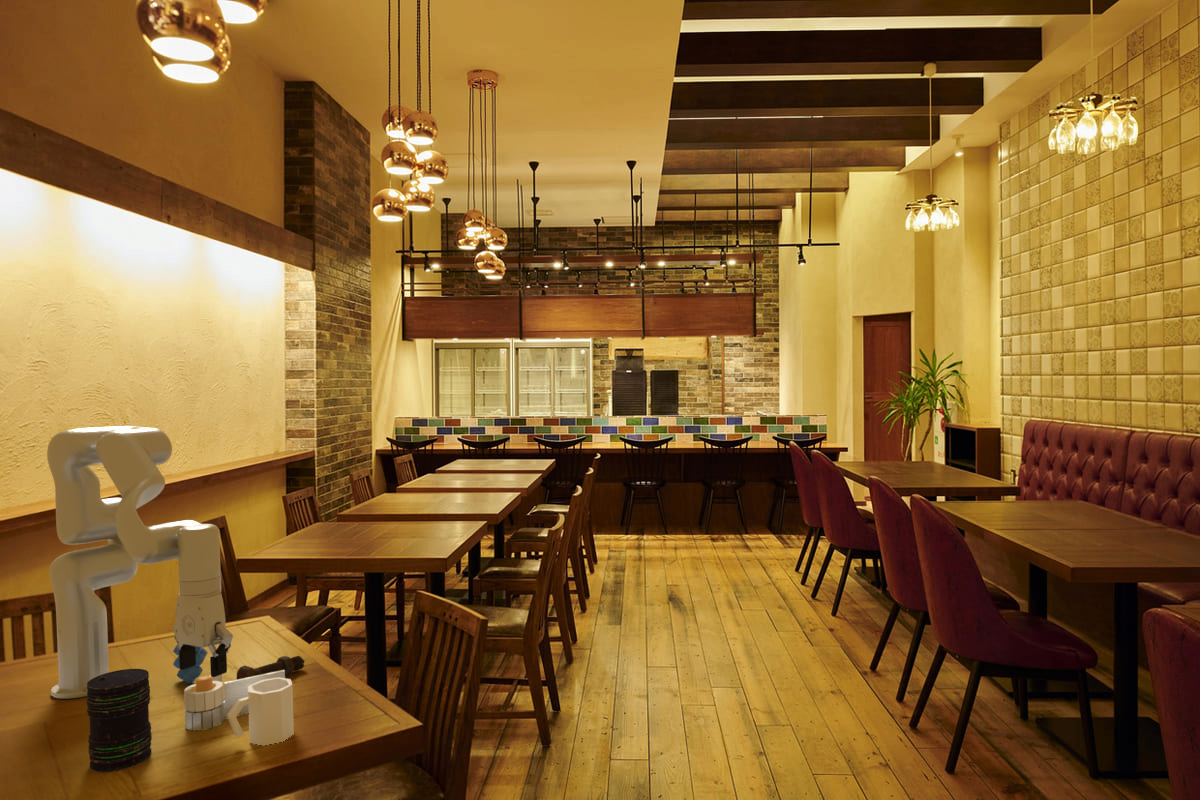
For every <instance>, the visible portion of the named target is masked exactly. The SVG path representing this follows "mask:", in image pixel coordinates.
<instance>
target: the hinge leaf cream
mask: <svg viewBox="0 0 1200 800" xmlns="http://www.w3.org/2000/svg"><path fill="white" fill-rule="evenodd" d="M209 676H211V674H210V675H209ZM183 701H184V702H183V704H184V706H183V707H184V710H185V709H186V710H187V711H191V712H195V711H196V712H199V711H205V710H210V709H213V708H216V707H218V706H220V705H221V704H222V703H223V702H224V701H225V692H224V682H223V674H221V675H219V676H216V677H213V688H212V689H210V690H207V691H201V692H196V683H194V684H193V683H192V684H191V685H189V686H187V687H185V688H184V690H183Z"/></svg>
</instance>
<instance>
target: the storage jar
mask: <svg viewBox="0 0 1200 800" xmlns="http://www.w3.org/2000/svg"><path fill="white" fill-rule="evenodd" d="M149 677H150V674H149V671H148V670H146V669H143V668H126V669H118V670H114V671H109V673H105V674H102V675H99V676H97V677H95V678H93V679H91V680H90V681H88V683H87V690H88V691H87V696H86V706H87V709H86V712H87V716H88V717H89V733H90V734H89V735H88V740H87V742H88V755H89V760H90V762H89V769H90V771H93V772H95V773H113V772H118V771H123V770H126V769H131V768H132V767H133V768H134V767H135V766H138V765H139V764H142V763H143V762H146V761H147V759H149V758H150V757H151V756H152V748H151V745H152V737H153V735H152V724H151V721H150V716H149V715H150V714H149V704H150V703H151V696H150V694H151V686H150V680H149Z"/></svg>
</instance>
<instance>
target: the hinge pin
mask: <svg viewBox="0 0 1200 800" xmlns="http://www.w3.org/2000/svg"><path fill="white" fill-rule="evenodd" d="M195 684H196V692H201V691H207V690H210V689H212V688H213V677H211V676H210V675H205V676H199V677H198V678H196V679H195Z"/></svg>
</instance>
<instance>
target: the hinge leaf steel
mask: <svg viewBox="0 0 1200 800" xmlns="http://www.w3.org/2000/svg"><path fill="white" fill-rule="evenodd" d="M278 677H280V678H286V677H285V671H284V670H281V671H276V672H271V673H266V674H262V675H257V676H252V677H247V678H243V679H238V680H237V679H235V680H229V681H224V682H223V690H224V702H223V703H222V704H221V705H220V706H218V707H216V708H213V709H210V710H205V711H199V712H196V711H195V712H191V711H187V710H186V709H185V708H184V719H185V720H184V726H185V729H186V730H187V729H188V730H187V731H192V730H193V731H192V732H196V731H195V730H202V729H203V730H202V731H206V730H210V729H209V728H211V729H212V727H214V728H216V727H218V726H220V725H221V724H220V723H222V724H223V723H224V722H225V720H226V719H225V718H228V717H227V714H228V713H229V711H230V710H231V709H232V707H233V706H234V705H235V703H236V702H237V701H238V699H242V698H245V697H248V686H250V685H252V684H254V683H256V682H259V681H261V680H265V679H271V678H278ZM246 713H249V710H248V705H244V706H243V707H242V709H241V711H240V712H239V714H238V715H241V716H243V715H242V714H246ZM246 715H247V714H246ZM219 724H220V725H219ZM217 725H218V726H217ZM215 726H216V727H215ZM205 729H206V730H205Z"/></svg>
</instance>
